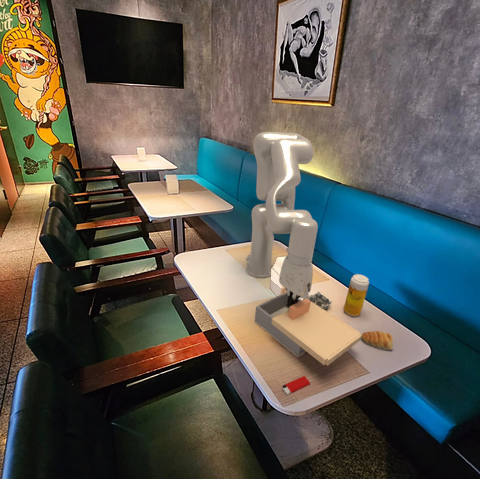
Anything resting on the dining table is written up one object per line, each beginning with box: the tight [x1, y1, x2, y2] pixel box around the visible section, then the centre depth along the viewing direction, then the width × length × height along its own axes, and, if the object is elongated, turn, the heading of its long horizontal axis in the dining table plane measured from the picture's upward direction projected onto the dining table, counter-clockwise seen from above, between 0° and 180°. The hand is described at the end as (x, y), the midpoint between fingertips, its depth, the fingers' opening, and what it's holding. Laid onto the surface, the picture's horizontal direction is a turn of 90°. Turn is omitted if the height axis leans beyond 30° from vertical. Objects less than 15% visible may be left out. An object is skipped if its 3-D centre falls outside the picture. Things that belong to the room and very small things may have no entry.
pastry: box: [361, 330, 394, 351], centre depth 99 cm, size 9×7×4 cm
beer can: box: [343, 273, 370, 317], centre depth 111 cm, size 6×6×15 cm
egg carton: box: [302, 291, 333, 310], centre depth 115 cm, size 11×8×4 cm
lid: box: [271, 299, 362, 366], centre depth 93 cm, size 21×18×6 cm
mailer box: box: [254, 291, 308, 358], centre depth 102 cm, size 20×16×6 cm
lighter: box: [282, 375, 311, 396], centre depth 82 cm, size 3×1×8 cm
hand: (291, 305), depth 101 cm, fingers closed
